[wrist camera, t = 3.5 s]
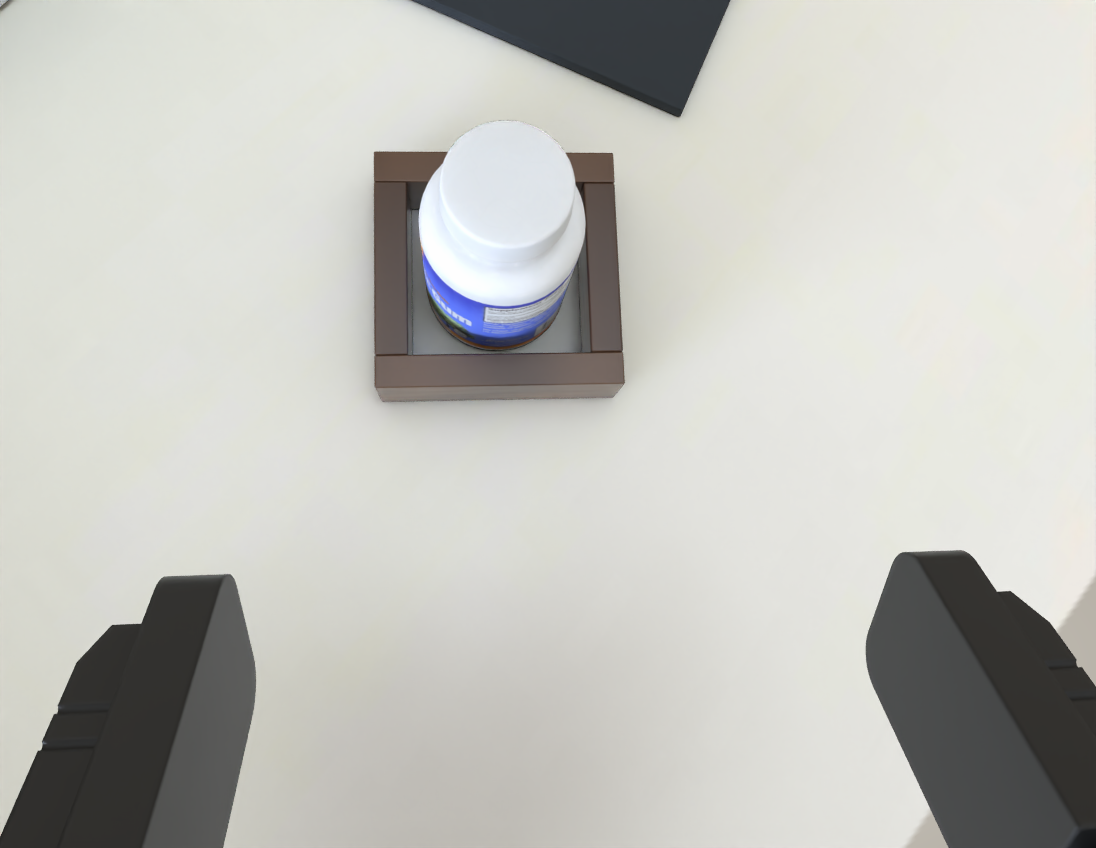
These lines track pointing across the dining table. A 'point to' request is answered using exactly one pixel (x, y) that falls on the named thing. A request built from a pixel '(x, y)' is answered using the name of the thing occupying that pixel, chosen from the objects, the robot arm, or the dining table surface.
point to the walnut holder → (493, 374)
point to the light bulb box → (2, 2)
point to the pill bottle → (500, 234)
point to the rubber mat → (607, 39)
